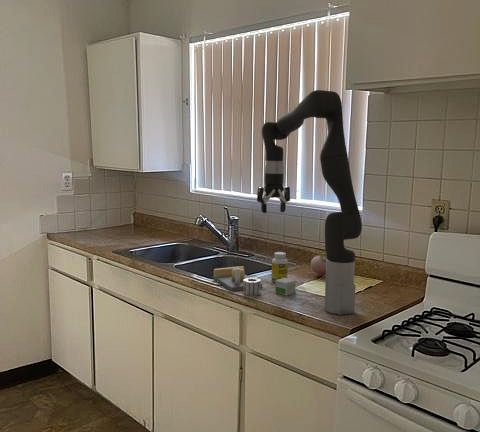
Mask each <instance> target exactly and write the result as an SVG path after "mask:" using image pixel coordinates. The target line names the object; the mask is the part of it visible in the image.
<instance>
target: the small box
mask: <svg viewBox="0 0 480 432" xmlns="http://www.w3.org/2000/svg"><path fill="white" fill-rule="evenodd" d="M296 282H297V280H296V279H293V278H292V279H291V278H288V277H287V278H282V279H278V280H275V282H274V283H275V284H274V292H275V293H277V294H280V295H283V296H290V295H292V294H296Z"/></svg>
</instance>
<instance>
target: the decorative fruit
mask: <svg viewBox="0 0 480 432" xmlns="http://www.w3.org/2000/svg"><path fill="white" fill-rule="evenodd" d="M326 259H327V256H325V255H324V254H323V253H321V254H317V255H316V256H314V257H313V258H312V259H311V261H310V267H311V270H312V271H313V272H314V273H316V274H317V275H319V276H320V277H324V276H326Z"/></svg>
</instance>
